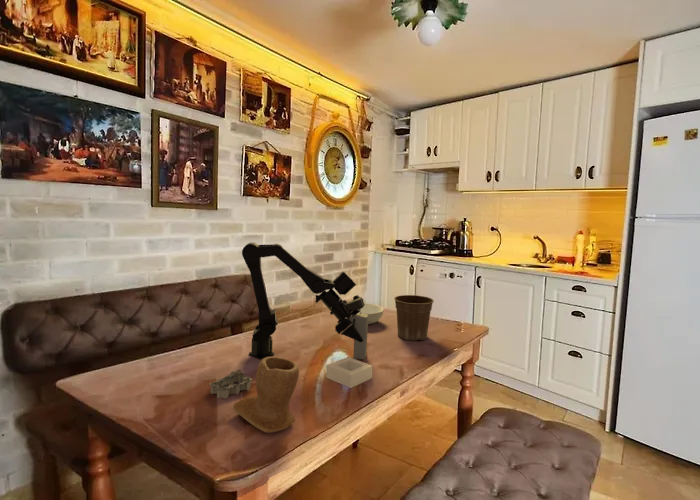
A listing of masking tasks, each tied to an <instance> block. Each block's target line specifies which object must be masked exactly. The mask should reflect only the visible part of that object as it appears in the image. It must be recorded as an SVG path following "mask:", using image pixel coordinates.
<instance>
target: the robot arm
mask: <svg viewBox="0 0 700 500" xmlns="http://www.w3.org/2000/svg"><path fill="white" fill-rule="evenodd" d="M241 254H242V258H243V260H244V262H245V265H246V266H247V269H248V271H249V273H250V277H251V283H252V286H253V291H254V295H255V300H256V305H257V309H258V324H257V325H256V326H255V327H254V328H253V333H252V337H251V351H249V352H248V355H250V356H252V357H254V358H257V359H261V360H262V359H264V358H266V357H272V356H273V355H275V352H273V339H272V338H273V337H272V335H273V334H274V333H275V332H276V330H277V326H278V324H279V323H278V322H279V319H278V316H277V313H276V311H277V310H276V309H272V308H271V307H270V302H269V298H268V297H269V296H268V293H267V289H266V285H265V281H264V280H265V279H264V275H263V271H262V258H268V257H275V258H277V259H278V260H280V262H282V263H283V264H284V265H285V266H287V267H288V268H289V269H290V270H291V271H293V272H294V273H295V274H296V275H297V276H298V277H299V278H301V280H302V281H303V283H304V284H305V285H306V287H307V288H308V289H309V290H310V291H311V292H312V293H313V294H315V296H314V297H315V301H314V302H315V304H317V303H319V302H320V301H321V302H322V303H323V305H324V306H326V308H327V309H328V310H329V311H330V312H329V314H330V315H334V317H335V318H336V319H337V324H336V325H335V326H334V328H335V332H336V333H337V334H338V335H341V336H345V337H347V338H349V339H352V340H353V341H354V340H357V341H359V342H362V341H363V339H362V337H361V336H360V334H359V333H358V331H357V330H356V328H355V316H356V315H357V314H358V313H359V312H360V311H361V310H360V309H361V308H363V307H364V306H365V304H364V303H365V302H364V298H362V296H360V295H358V294H356V295H353V298H352V300H350V301H347V300H346V299H342V298H341V297H340V296H341V295H342V296H343V295H344V296H346V295H347V294H348V293H350V292H351V290H352V289H353V288H354V287H356V286H357V284H356V283H355V282H354V280H353V279H352V278H351V277H350V276H348V275H347V273H346V272H345V271H343V270H342V271H341V272H340V273H339V274H338V276H336V277H335V279H329V278H327V279H326V278H323V276H322V275H320V274H318V273H316V272H315V271H313V270H311V269H309V268H308V267H306V266H305V265H304V264H302V262H300V260H298V259H297V258H296V257H294V256H293V255H292V254H291V253H290V252H289V251H288V250H286V249H285V248H284V247H283V246H282V244H280V243H274V244H258V243H256V242H249V243H247V244H245V245H244V247H243V248H242V251H241ZM338 294H339V295H340V296H339V295H338ZM359 314H361V312H360V313H359Z"/></svg>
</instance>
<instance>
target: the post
mask: <svg viewBox="0 0 700 500" xmlns="http://www.w3.org/2000/svg"><path fill="white" fill-rule="evenodd" d="M368 325H369V324H368V315H366V314H357V315H356V316H355V328H356V330H357V331H358V333H359V334H360V336H361V337H362V339H363V341H362V342H359V341H357V340H354V339H353V356H352V357H353V359H356V360H366V358H367V352H368V351H367V349H368V348H367V347H368V333H369V332H368V331H369V330H368V329H369V326H368Z"/></svg>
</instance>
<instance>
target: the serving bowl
mask: <svg viewBox="0 0 700 500" xmlns="http://www.w3.org/2000/svg"><path fill="white" fill-rule="evenodd" d="M364 304H365V306H364V307H363V308H361V309H360V310H361V311H360V312H361V314H366V315H368V325H370V324H375V323H377V322H378V321H380V319H381V318H382V317H383V314H384V307H382V306H380V305H377V304H373V303H365V302H364ZM360 312H359V313H360ZM359 313H358V314H359Z"/></svg>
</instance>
